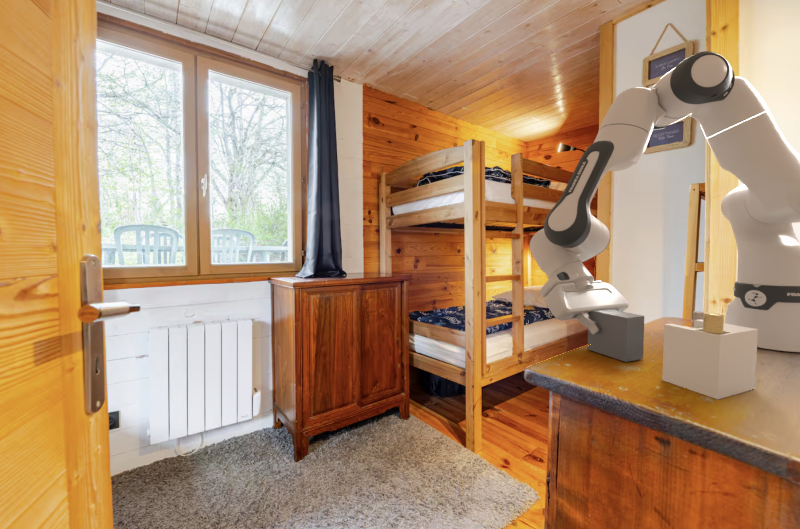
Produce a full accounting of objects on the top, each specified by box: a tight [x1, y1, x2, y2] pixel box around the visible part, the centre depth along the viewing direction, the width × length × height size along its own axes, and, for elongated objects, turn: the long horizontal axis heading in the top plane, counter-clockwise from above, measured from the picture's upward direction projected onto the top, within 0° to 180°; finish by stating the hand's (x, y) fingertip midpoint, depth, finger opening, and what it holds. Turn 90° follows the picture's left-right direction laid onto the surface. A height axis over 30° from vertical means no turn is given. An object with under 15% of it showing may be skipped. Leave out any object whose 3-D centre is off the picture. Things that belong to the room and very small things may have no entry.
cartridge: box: [587, 309, 645, 363], centre depth 74 cm, size 5×9×9 cm, turn 20°
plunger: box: [703, 312, 725, 335], centre depth 55 cm, size 2×2×6 cm
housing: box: [662, 319, 758, 400], centre depth 58 cm, size 10×8×10 cm
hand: (608, 331), depth 75 cm, fingers closed on cartridge, 5 cm apart
